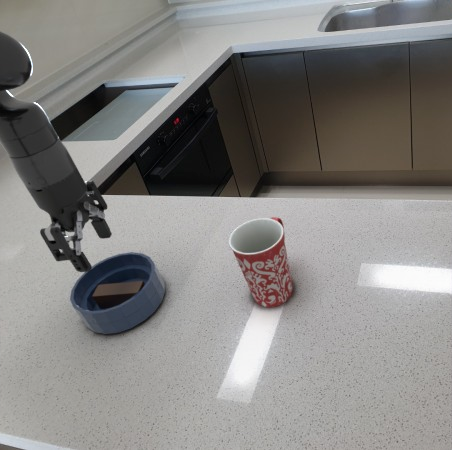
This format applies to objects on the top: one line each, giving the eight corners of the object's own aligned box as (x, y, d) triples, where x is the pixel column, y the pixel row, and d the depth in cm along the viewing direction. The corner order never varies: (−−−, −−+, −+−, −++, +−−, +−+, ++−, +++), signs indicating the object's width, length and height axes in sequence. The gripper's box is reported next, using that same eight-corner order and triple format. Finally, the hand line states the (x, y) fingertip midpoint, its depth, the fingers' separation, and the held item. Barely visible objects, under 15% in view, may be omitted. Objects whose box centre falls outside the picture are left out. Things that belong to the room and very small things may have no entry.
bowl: (116, 348, 78) (101, 326, 74) (70, 316, 86) (54, 294, 83) (182, 290, 87) (171, 267, 83) (134, 265, 95) (122, 243, 91)
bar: (99, 308, 86) (91, 296, 83) (106, 296, 88) (98, 284, 86) (144, 305, 84) (137, 292, 82) (150, 293, 87) (143, 280, 84)
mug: (286, 316, 77) (269, 257, 69) (239, 307, 80) (218, 249, 72) (312, 265, 86) (300, 207, 78) (269, 258, 89) (253, 202, 81)
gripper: (50, 152, 75) (93, 229, 85) (-1, 202, 64) (57, 284, 74) (91, 146, 74) (131, 225, 84) (48, 196, 63) (99, 281, 72)
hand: (96, 253), depth 79 cm, fingers open, 8 cm apart
